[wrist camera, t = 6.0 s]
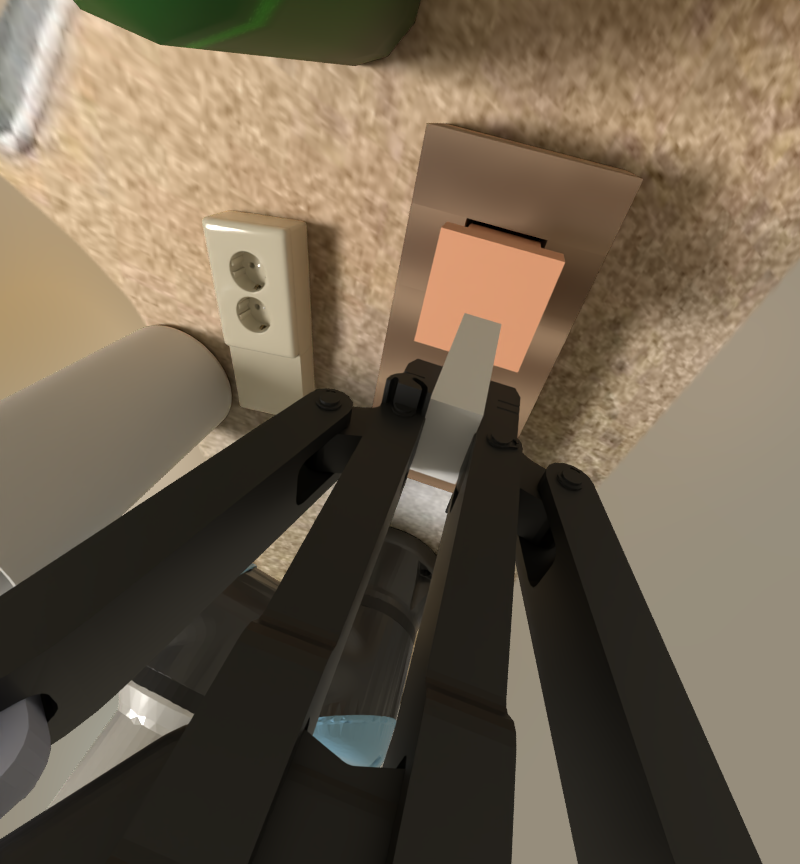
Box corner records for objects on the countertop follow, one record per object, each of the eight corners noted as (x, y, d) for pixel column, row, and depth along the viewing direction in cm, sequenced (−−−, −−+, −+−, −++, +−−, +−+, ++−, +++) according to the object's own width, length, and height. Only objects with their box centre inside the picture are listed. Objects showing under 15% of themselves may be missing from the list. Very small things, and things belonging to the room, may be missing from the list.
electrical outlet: (235, 411, 43) (198, 217, 32) (256, 392, 46) (228, 209, 36) (300, 426, 42) (285, 230, 31) (317, 405, 45) (308, 220, 34)
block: (491, 462, 43) (486, 504, 38) (380, 426, 44) (361, 462, 39) (625, 169, 27) (643, 179, 22) (445, 123, 28) (427, 123, 23)
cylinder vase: (243, 432, 50) (54, 630, 30) (152, 412, 52) (-81, 586, 32) (222, 332, 42) (-47, 510, 23) (116, 314, 45) (-213, 462, 25)
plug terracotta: (521, 325, 29) (517, 372, 23) (437, 300, 29) (414, 340, 24) (559, 232, 25) (565, 262, 20) (462, 205, 26) (441, 227, 20)
